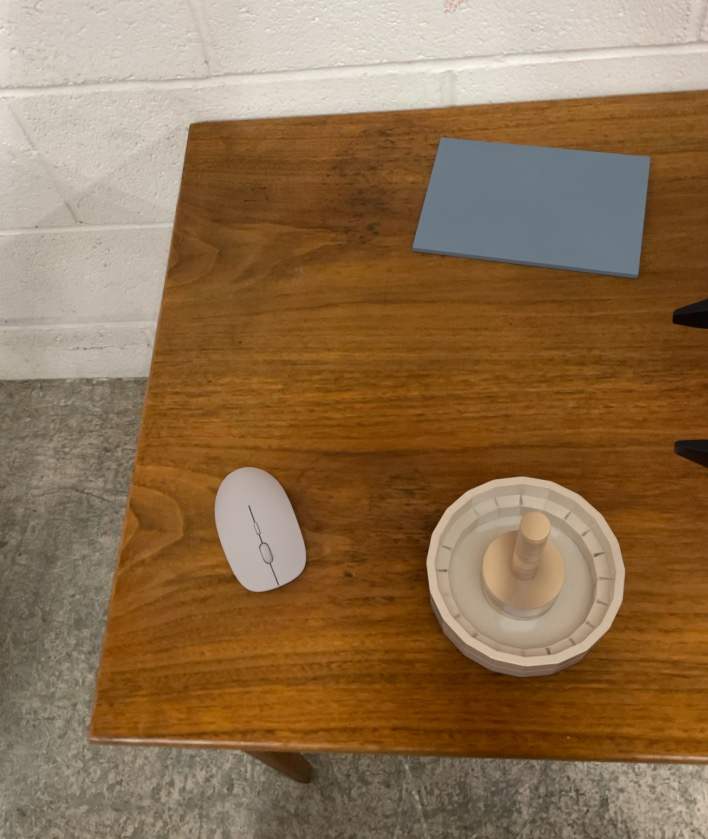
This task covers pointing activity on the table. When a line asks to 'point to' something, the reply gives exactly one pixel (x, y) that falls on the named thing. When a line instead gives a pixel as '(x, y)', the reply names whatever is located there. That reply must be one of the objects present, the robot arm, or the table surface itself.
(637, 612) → the table surface
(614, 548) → the bowl
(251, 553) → the computer mouse
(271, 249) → the table surface
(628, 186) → the mat
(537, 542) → the wooden stamp
